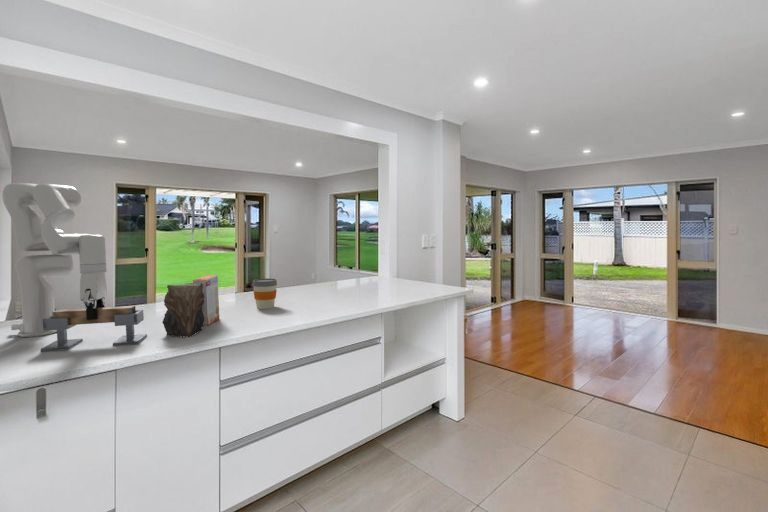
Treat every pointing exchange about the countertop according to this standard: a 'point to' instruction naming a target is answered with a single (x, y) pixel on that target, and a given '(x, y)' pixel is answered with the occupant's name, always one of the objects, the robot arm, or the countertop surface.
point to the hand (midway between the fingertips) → (96, 317)
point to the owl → (184, 309)
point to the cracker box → (209, 298)
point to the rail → (103, 314)
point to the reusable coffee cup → (265, 293)
